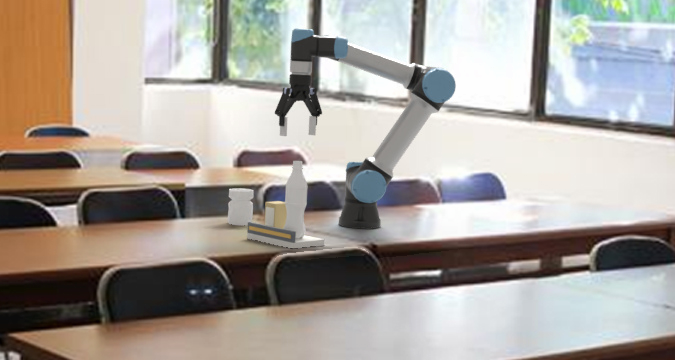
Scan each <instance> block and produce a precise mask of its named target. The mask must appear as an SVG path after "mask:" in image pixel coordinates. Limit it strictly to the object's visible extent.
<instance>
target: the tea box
mask: <svg viewBox="0 0 675 360" xmlns="http://www.w3.org/2000/svg"><path fill="white" fill-rule="evenodd" d="M286 218H287V210H286V205H285V201H281V200H274V201H265V205H264V224H263V225H267V226H271V227H276V228H281V229H284V226H285V223H286Z"/></svg>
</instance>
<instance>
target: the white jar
mask: <svg viewBox="0 0 675 360" xmlns="http://www.w3.org/2000/svg"><path fill="white" fill-rule="evenodd" d="M254 191H255V190H254V189H250V188H241V187H240V188H236V187H235V188H229V189H228V198H230V201H229V202H228V206H227V207H228V212H227V224H228V223H229V224H228V225H231V224H232V226H240V227H241V226H244V225H245V226H248V222H253V215H254V214H253V212H254V203H253V202H252V201H251V200H252V199H254V194H255V193H254ZM245 226H244V227H245Z"/></svg>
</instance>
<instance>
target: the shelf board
mask: <svg viewBox="0 0 675 360" xmlns="http://www.w3.org/2000/svg"><path fill="white" fill-rule="evenodd" d="M246 230H247V235H246V239H248V240H251V239H252V240H251V241H255V240H258V241H257V242H259V241H261V243H264V242H266V243H265V244H268V243H270V245H273V244H274V246H277V245H278V246H277V247H281V246H283V248H286V247H288V248H287V249H290V248H298V249H303V248H302V247H307V248H311V247H310V246H316V247H322V246H325V239H324V238H320V237H315V236H309V235H304V237H303V238H299V239H295V236H296V232H295V231H290V230H285V229H281V228H276V227H271V226H267V225H264V224H262V223H256V222H253V221H252V222H248V225H247V229H246Z"/></svg>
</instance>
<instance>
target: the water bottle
mask: <svg viewBox="0 0 675 360" xmlns="http://www.w3.org/2000/svg"><path fill="white" fill-rule="evenodd" d="M291 168H292V170H291V173H290V176H289V177H288V179H287V181H286V183H285V199H284V202H285V205H286V210H287V218H286V223H285V226H284V229H285V230H290V231H295V232H296V236H295V239H299V238H303V237H304V235H305V234H306V231H307V230H306V229H307V228H306V225H305V219H304V218H305V217H304V216H305V210H306V207H307V205H308V201H307V200H308V183H307V181H306V178H305V175H304V173H303V170H304V166H303V161H302V160H293V161H292V166H291Z"/></svg>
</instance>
